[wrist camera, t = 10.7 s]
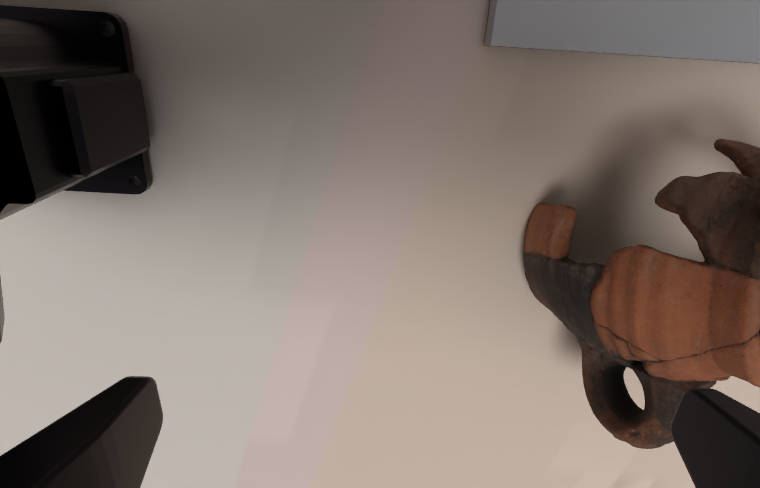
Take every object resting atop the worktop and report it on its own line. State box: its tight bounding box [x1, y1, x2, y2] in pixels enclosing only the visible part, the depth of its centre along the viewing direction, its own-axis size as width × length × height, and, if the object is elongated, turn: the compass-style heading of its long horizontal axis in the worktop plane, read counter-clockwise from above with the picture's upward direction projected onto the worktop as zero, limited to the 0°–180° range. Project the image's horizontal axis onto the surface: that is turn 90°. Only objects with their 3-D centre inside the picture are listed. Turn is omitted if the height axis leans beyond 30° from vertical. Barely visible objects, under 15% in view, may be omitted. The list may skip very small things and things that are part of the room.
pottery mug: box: [524, 139, 760, 449], centre depth 18 cm, size 12×9×8 cm
